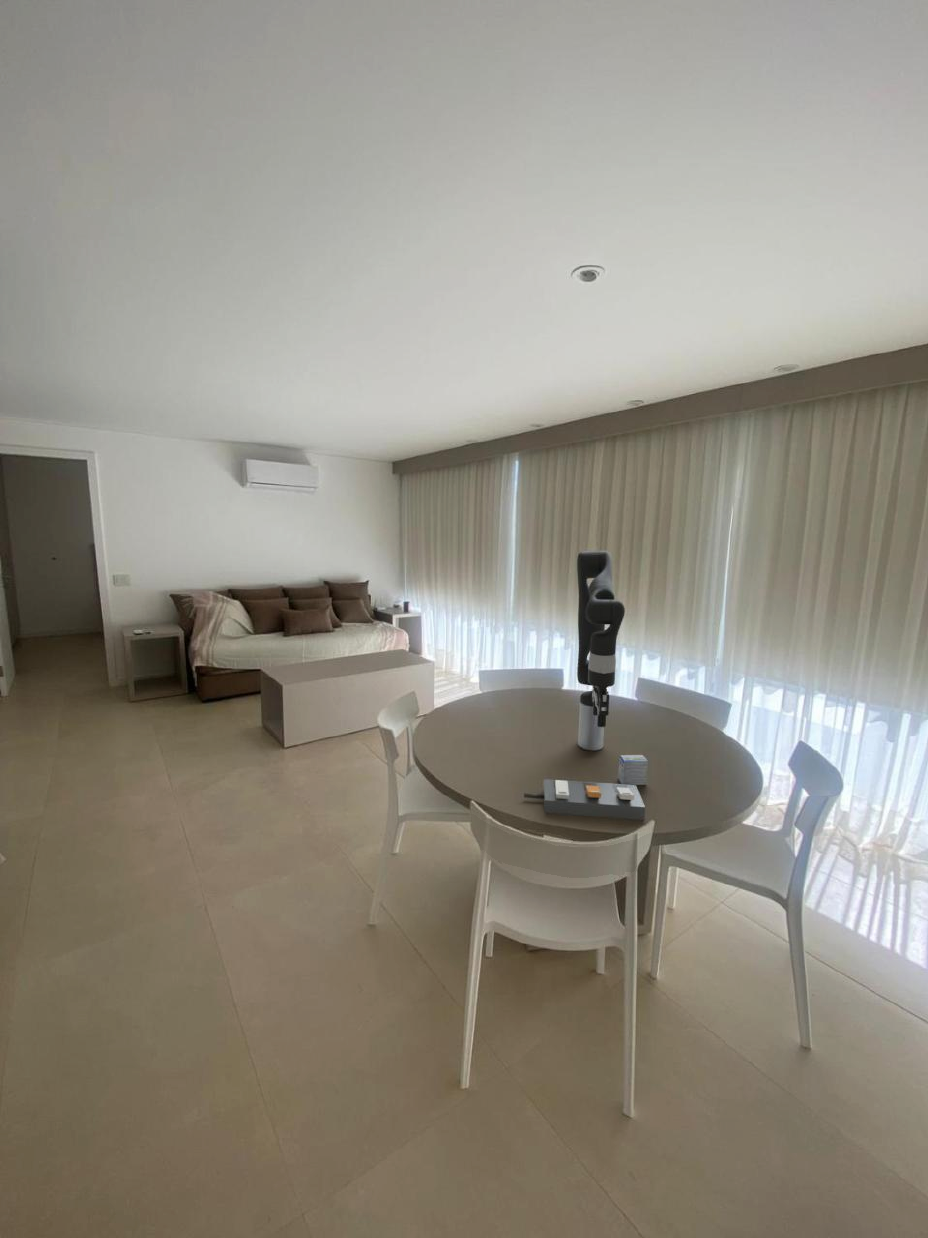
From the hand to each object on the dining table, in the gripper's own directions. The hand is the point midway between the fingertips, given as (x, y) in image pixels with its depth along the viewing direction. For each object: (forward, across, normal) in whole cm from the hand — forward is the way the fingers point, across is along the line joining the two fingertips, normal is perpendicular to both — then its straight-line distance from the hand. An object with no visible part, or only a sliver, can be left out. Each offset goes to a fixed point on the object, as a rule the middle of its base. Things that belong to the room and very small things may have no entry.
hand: (598, 720), depth 142 cm
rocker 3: (+20, +6, +7) cm, 22 cm away
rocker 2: (+20, +6, -2) cm, 21 cm away
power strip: (+26, +3, -5) cm, 26 cm away
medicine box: (+26, -12, +14) cm, 32 cm away
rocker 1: (+20, +5, -11) cm, 23 cm away
